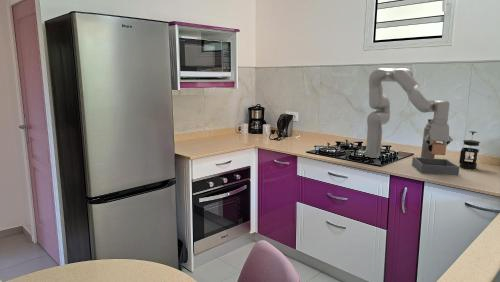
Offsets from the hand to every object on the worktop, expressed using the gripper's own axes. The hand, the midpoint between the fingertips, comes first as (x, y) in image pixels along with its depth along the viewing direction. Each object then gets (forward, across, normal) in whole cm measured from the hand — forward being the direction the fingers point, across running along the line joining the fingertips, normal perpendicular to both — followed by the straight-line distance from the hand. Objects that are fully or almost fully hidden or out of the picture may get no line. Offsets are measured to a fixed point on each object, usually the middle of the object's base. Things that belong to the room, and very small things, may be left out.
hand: (436, 151), depth 211 cm
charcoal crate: (+11, 0, 0) cm, 11 cm away
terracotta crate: (+1, 0, 0) cm, 1 cm away
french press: (+12, +23, +12) cm, 28 cm away
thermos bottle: (+12, +3, +24) cm, 27 cm away
